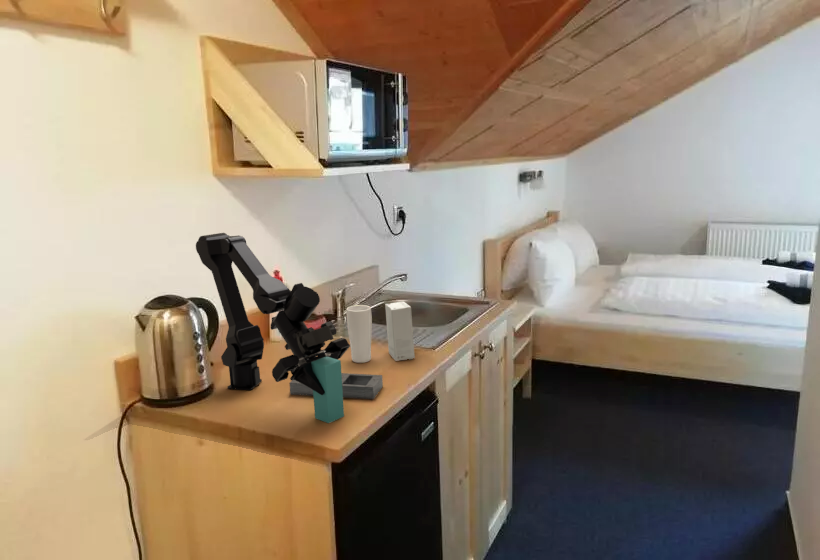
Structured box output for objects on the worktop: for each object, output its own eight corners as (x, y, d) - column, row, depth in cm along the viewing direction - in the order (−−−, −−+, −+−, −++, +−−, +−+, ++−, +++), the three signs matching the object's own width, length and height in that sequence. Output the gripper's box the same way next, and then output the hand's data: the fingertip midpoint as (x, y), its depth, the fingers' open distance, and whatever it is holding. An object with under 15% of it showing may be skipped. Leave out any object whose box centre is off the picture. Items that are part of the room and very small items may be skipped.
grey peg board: (290, 394, 155) (289, 382, 154) (302, 382, 162) (302, 370, 162) (373, 399, 150) (373, 386, 149) (382, 386, 157) (382, 374, 157)
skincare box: (415, 359, 176) (413, 307, 173) (393, 361, 175) (391, 309, 172) (407, 350, 184) (405, 300, 181) (386, 352, 183) (384, 302, 180)
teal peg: (315, 418, 141) (311, 362, 138) (330, 411, 144) (326, 356, 141) (328, 423, 138) (325, 366, 135) (344, 416, 141) (340, 360, 138)
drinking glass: (372, 355, 181) (369, 304, 178) (375, 363, 174) (372, 310, 171) (348, 357, 180) (345, 305, 177) (350, 365, 173) (347, 312, 170)
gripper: (275, 322, 132) (314, 384, 127) (342, 303, 145) (379, 358, 141) (256, 351, 138) (292, 411, 134) (321, 330, 152) (356, 384, 147)
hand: (332, 390), depth 139 cm, fingers closed on teal peg, 4 cm apart
